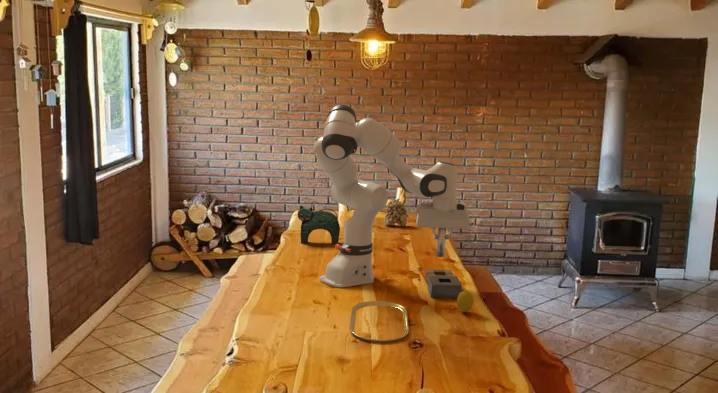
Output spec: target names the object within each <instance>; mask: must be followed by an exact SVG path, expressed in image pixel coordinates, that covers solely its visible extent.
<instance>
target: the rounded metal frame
mask: <svg viewBox="0 0 718 393" xmlns="http://www.w3.org/2000/svg"><path fill="white" fill-rule="evenodd" d="M374 306H375V307H378V306H379V307H380V306H381V307H387V306H391V307H390V308H392V307H395V308H398V309H400V310H401V311H402V312H403V315H404V324H405V332H406V333H405V335H404V334H403V335H404V336H403V335H402V336H400V337H397V338H390V339H376V338H375V339H374V338H368V337H364V336H360V335H359V334H356V332H355V329H356V320H357V311H358V310H360V309H363V308H366V307H374ZM395 308H394V309H395ZM349 321H350V323H349V331H350V332H351V334H352V335H353V336H355V337H356V338H358V339H360V340H362V341H363V340H364V341H367V342H370V343H392V341H393V342H397V341H400V340H402V339H403V338H405V337H406V336H407V335H408V334H409V332H410V328H409V319H408V310H407V309H406V308H405V307H404V306H402V305H400V304H398V303H394V302H391V301H384V300H370V301H361V302H359V303H357V304H355V305H353V307H351V313H350V320H349ZM396 340H397V341H396Z"/></svg>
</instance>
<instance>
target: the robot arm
mask: <svg viewBox="0 0 718 393" xmlns="http://www.w3.org/2000/svg"><path fill="white" fill-rule="evenodd" d="M358 148H361V149H363V150H364V151H365V152H366V153H367V154H368V155H370V156H371V157H372V158H373V159H375V160H376V161H378V163H381V164H382V165H383V166H384V167H385V168H387V170H388V171H390V173H392V174H393V176H394V177H395V178H396V179H397V180H398V182H399V185H400V187H401V189H402V190H403V191H404V192H406V193H409V194H414V195H418V196H421V197H424V198H432V202H431V203H429V202H427V203H424V202H421V203H420V204H418V205H417V206H416V215H417V216H416V221H415V223H416V226H417V227H418V228H429V229H431V230H430V231H432V234H433V239H434V240H437V239H438V233H436V232H435V231H436V230H437V229H438V228H446V229H448V230H449V231H448V232H447V233H446V240H449V241H450V239H451V235H452V234H453V232H454V229H459V230H462V229H463V230H467V229H469V227H470V214H469V212H468V211H467V210H468V205H467V203H466V202H463V201H460V200H458V199H457V192H456V189H457V186H458V170H457V169H458V168H457V166H456V165H455V164H454V163H450V162H446V161H440V160H439V161H437V162H436V163H435V165H433V166H432V167H430V168H428V169H422V168H418V167H416V166H410V165H409V164H408V163H407V162H406V161H404V160H403V159H402V157H401V156H400V154H401V152H402V143H401V142H400V140H399V139H398V137H397V136H395V134H393V133H392V131H390V130H389V129H388V128H387V126H385V125H383V124H382V123H381V122H378V121H377V120H375V119H373V118H371V117H365V118H362V119H360V120H359V121H357V115H356V112H355V110H354V109H353V108H352V107H350V106H349V105H346V104H336V105H335V106H333V107H332V108H331V109H330V111H329V112H328V114H327V116H326V121H325V123H324V127H323V134H322V136H321V137H318V139H316V141H315V142H314V144H313V149H312V150H313V154H314V155H315V158H316V160H317V162H318V164H319V165H320V167H321V169H322V170H323V172H325V174H326V175H327V177H328V178H329V179H330V181H331V183H332V186H331V190H330V192H331V197H332V199H333V200H334V202H337V203H338V204H340V205H343V206H345V207H350V208H353V214H352V216H351V217H349V218H348V219H347V220H345V222H344V225H343V242H342V244H339V243H338V244H334V248H335V249H336V250H339V252H338V254H336V256H334V257H333V258H332V259H331V261H329V262H328V263H327V265H326V268H325V273H324V274H322V275H320V276H319V279H318V280H319V281H320V282H322V283H323V284H325V285H328V286H332V287H335V288H347V287H353V286H354V287H355V286H359V285H367V284H374V282H375V274H374V269H373V267H374V266H373V258H372V257H373V256H372V253H373V249H374V247H373V246H374V245H373V242H372V239H373V226H374V222H375V219H376V217H377V215H378V213H379V212H381V211H382V210H384V208H386V207H387V205H388V202H389V200H388V199H389V194H388V191H387V188H386V187H384V186H382V185H380V184H378V183H376V182H371V181H366V180H362V179H360V178H358V177H357V174H358V166H357V163H356V162H355V161H354V160H353V158H352V157H351V155H352V154H353V155H354V154H355V153H356V152H357V150H358Z"/></svg>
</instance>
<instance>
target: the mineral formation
mask: <svg viewBox="0 0 718 393" xmlns="http://www.w3.org/2000/svg"><path fill="white" fill-rule="evenodd" d="M385 211H386V213H385V215H384V220H383V224H384V225H385V226H388V227H389V226H390V225H395V224H397V225H399V226H401V227H405V226H406V225H407V224H408V221H407V219H408V218H410V217H409V216H410V215H409V214H408V212H407V210H406V207H405V205H404V204H403V203H402V201H400V199H399V198H395V199H392V200H390V201H389V200H388V201H387V204H386V206H385Z"/></svg>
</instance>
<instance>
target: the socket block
mask: <svg viewBox="0 0 718 393" xmlns="http://www.w3.org/2000/svg"><path fill="white" fill-rule="evenodd" d="M424 275H425V279H424V280H425V282H426V284H427V286H428V276H455V275H454V273H453V270H451V269H428V268H427V269H425V274H424Z"/></svg>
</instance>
